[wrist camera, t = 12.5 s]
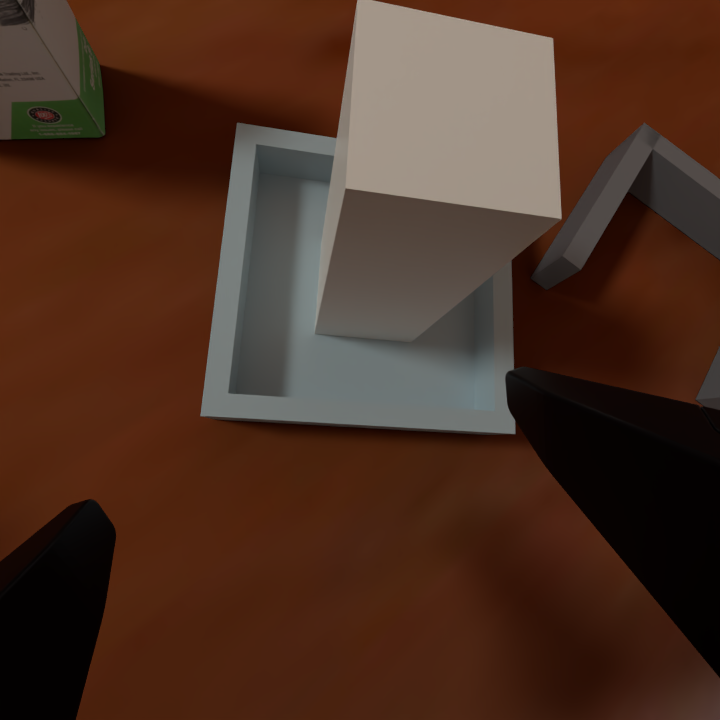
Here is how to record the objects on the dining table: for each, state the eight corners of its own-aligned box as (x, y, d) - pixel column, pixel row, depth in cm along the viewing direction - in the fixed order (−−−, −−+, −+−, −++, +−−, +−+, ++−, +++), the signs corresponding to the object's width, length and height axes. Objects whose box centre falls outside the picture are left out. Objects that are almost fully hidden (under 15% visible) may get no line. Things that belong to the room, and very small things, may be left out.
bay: (711, 411, 25) (767, 407, 22) (530, 277, 24) (562, 256, 22) (769, 279, 27) (827, 259, 24) (606, 156, 27) (644, 122, 24)
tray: (486, 434, 22) (515, 434, 19) (213, 419, 20) (200, 415, 17) (484, 197, 25) (509, 165, 22) (243, 162, 23) (237, 122, 20)
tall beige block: (410, 342, 22) (561, 218, 10) (314, 333, 21) (345, 188, 9) (413, 234, 23) (550, 3, 11) (322, 222, 22) (360, -40, 10)
